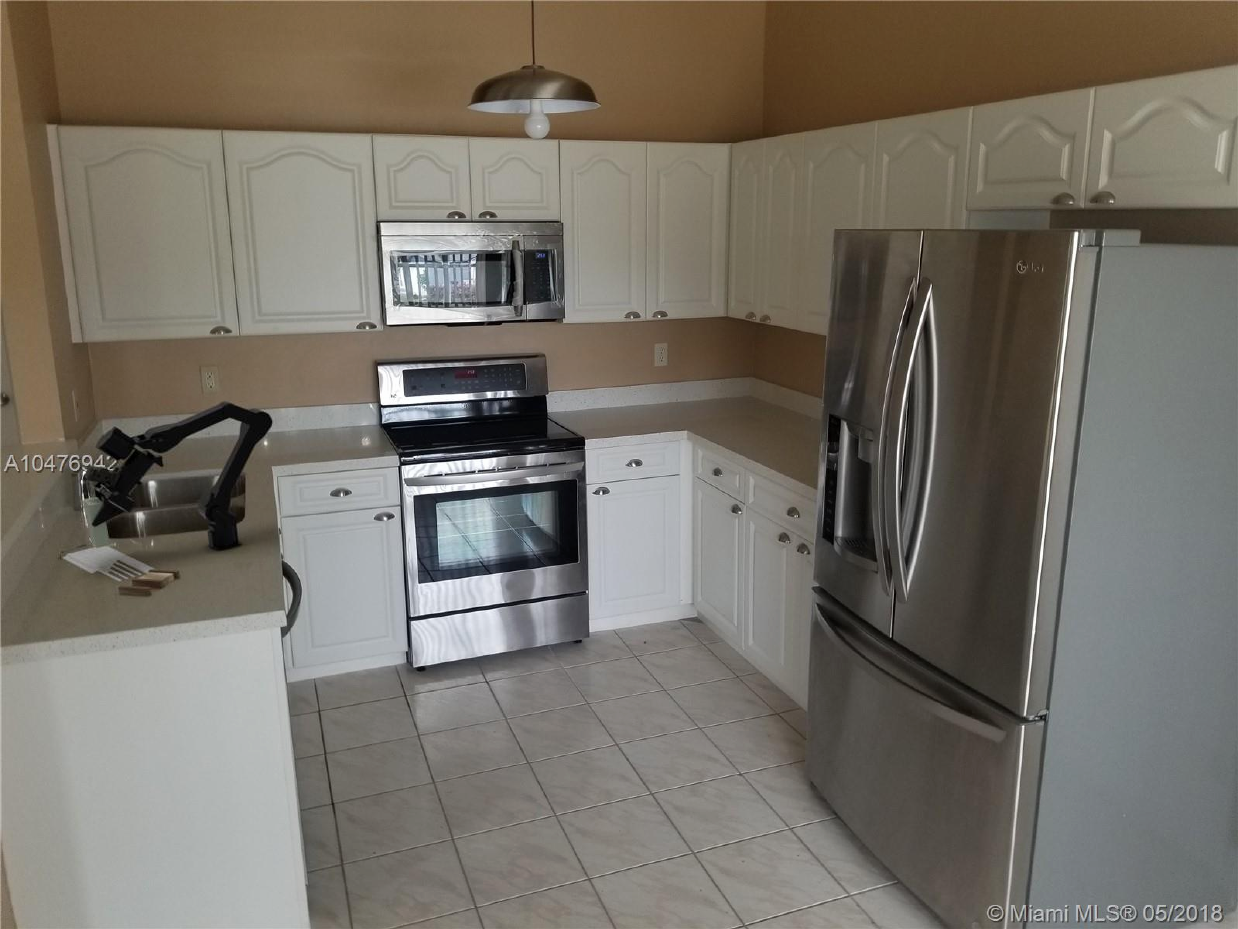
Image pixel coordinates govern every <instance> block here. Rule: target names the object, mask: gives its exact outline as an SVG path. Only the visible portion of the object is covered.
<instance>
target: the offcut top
mask: <svg viewBox="0 0 1238 929" xmlns="http://www.w3.org/2000/svg"><path fill="white" fill-rule="evenodd" d="M172 577H174V576H173V574H172V573H153V572H149V573H145V574H144V575H143V574H142V575H141V576H139V577H138V578H137V579H156V580H163V582H165V581H167V580H169V579H170V578H172Z"/></svg>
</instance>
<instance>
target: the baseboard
mask: <svg viewBox="0 0 1238 929" xmlns="http://www.w3.org/2000/svg"><path fill="white" fill-rule="evenodd" d="M88 546H91V545H88ZM85 547H87V545H86V544H82V545H79V546H78V545H77V547H76V549H80V548H85ZM73 550H75V549H72V551H73ZM69 551H71V549H70V550H68V552H69ZM64 552H65V553H66V552H67V551H66V550H65V551H61V553H62V554H63V553H64ZM57 559H58V561H59V560H64V561H66V562H68V563H70V564H72V565H74V566H76V567H77V568H80V569H81V570H83V571H85V572H87V573H89V574H94V573H97V572H99V573H101V574H104V575H106V576H108V577H110V578H112V579H113V580H114V581H117V582H122V581H123V580H122V579H121V578H123V579H126V580H129V577H127V576H125V575H123V574H122V573H124V574H126V575H129V576H130V577H132V578H135V577H136V575H134V574H132V573H135V574H137V575H138V576H143V574H141V573H140V572H138V571H136V570H139V571H141V572H142V573H145V574H147V573H149V572H148V570H150V569H155V568H154V567H152V566H149V565H148V564H146V563H144V562H142V561H139V560H137V559H135V558H133V557H131V556H129V555H127V554H124V553H122V552H121V551H118V550H116V549H114V548H112V547H111V546H104V547H100V548H96V547H95V546H93V547H90V548H87V549H82V550H79V551H74V552H71V553H66V555H65V556H62V555H61V554H59V558H57ZM118 561H120V562H122V563H124V564H126V565H128V566H131V567H133V568H134V569H132V568H130V567H127V566H126V565H124V564H122V563H120V562H118ZM114 564H116V565H118V566H120V567H122V568H125V569H126V570H128V571H130V572H132V573H130V572H128V571H125V570H124V569H121V568H120V567H118V566H116V565H114ZM111 568H114V569H116V570H118V571H120V572H122V573H119V572H117V571H115V570H114V569H111ZM135 569H136V570H135ZM110 572H111V573H114V574H116V575H118V576H120V577H121V578H119V577H117V576H115V575H113V574H111V573H110Z"/></svg>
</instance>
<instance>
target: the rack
mask: <svg viewBox="0 0 1238 929" xmlns="http://www.w3.org/2000/svg"><path fill="white" fill-rule="evenodd" d="M148 572H153V573H172V574H173V576H174V580H173V581H171V582H169V583H168V584H166V585H164V582H163V580H156V579H138V578H135V577H133V578H132V579H131V585H132V586H131V585H120V586H118V588H117V590H118V594H119V595H121V596H137V597H151V596H152V595H154V594H156V593H157V592H159V591H160V590H162V589H163V588H165V587H168V586H169V585H170V584H172V583H174V582H176V581H177V580H179V579H181V575H180V570H177V569H176V570H175V569H173V570H172V569H159V568H157V569H156V568H154V569H150V570H148Z"/></svg>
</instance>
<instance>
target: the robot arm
mask: <svg viewBox="0 0 1238 929" xmlns="http://www.w3.org/2000/svg"><path fill="white" fill-rule="evenodd" d="M228 419H231V420H234V421H236V422H241V423H240V424H239V425H240V426H239V436H238V439H237V441H236V443H235V445H234V447H233V449H232V451H231V453H230V455H229V457H228V459H227V461H226V463H225V465H224V467H223V468H222V470H221V472H220V475H218V476H219V477H218V478H217V480H216V483H215V484H214V485H213V486H212V487H211V488H210V489H207V488H205V487H204V488H203V490H202V492H201V495H200V497H199V499H197V501H196V502H197V503H198V505H197V510H198V513H199V514H200V515H201V516H202V517H203V518H204V519H206V520H207V521H208V522H209V523H210V524H208V531H207V538H208V543H207V544H208V547H210V548H212V549H215V550H217V551H223V550H226V549H229V548H234V547H236V546H242V545H243V543H242V541H239V534H238V533H239V532H238V526H237V523H238V517H237V516H236V515H234V514H233V513H232V512H231V511H229V510H230V506H231V500H232V493H233V491H234V489H235V486H236V485H237V482H238V481H239V478H240V476H241V474H242V473H243V471H244V469H245V467H246V464H247V462H248V461H249V459H250V456H251V454H252V452H253V451H254V448H255V446H256V445H257V444H258V443H260V441H261V440H262V439H264V437H265V436H266V435H267V433H268V432H269V431H270V430H271V428H272V426H273V422H274V421H273V419H272V416H271V414H270V413H268V412H266V411H264V410H261V409H259V408H254V407H253V408H250V409H248V408H244V407H242V406H239V405H236V404H234V403H233V402H230V401H221V402H219V403H218V404H217V405H214V406H212V407H209V408H208V409H205V410H203V411H200V412H198V413H196V414H194V415H191V416H189V417H186V418H183V419H182V420H180V421H176V422H174V423H166V424H161V425H157V426H154V427H150V428H148V429H146V431H145V432H144V433H141V434H137V435H133V436H130V435H128V434H126V433H125V432H123V431H122V430H121V429H120V428H118V427H117V426H113V427H112V428H111V429H109V430H108V431H107V432H106V433H104V434H102V435H101V436H100V438H99V439H98V440H97V442H96V445H95V448H96V449H97V450H99V451H100V452H102V453H103V454H104V455H107V456H108V457H109V458H112V459H113V460H115V461H118V462H119V461H120V460H121V461H124V462H122V464H121V465H120V466H115V467H114V468H113V469H109V468H107V467H103V466H95V465H91V464H90V465H89V464H88V465H87V469H86V472H85V474H84V479H86V480H87V481H89V482H92V483H91V485H92V486H93V487H92V491H93V495H94V498H95V497H97V498H98V499H99V500H100V501H101V502H102V503H103V505H102V507H101V509H100V510H99V512H98V514H97V515H96V517H95V519H94V521H93V522H92V525H93V526H94V527H96V526H98V525H100V524H102V523H104V522H106V523H107V521H110V520H111V519H114V518H115V517H118V516H119V515H121V514H125V513H126V512H128V513H131V512H132V511H133V509H134V508H135V506H136V504H135V501H134V500H133V499H132V498H131V497H132V495H131V493H132V492H133V491H134V489H135V488H136V487H137V486H141V485H142V484H143V481H142V479H144V477H145V476H146V475H147V474H148V472H149V471H150V470H151V469H152V467H153V466H154V465H155V464H156V465H157V466H159V467H160V468H163V467H164V466H165V465H164V461H163V456H162V455H161V454H164V453H167V452H169V451H170V450H172V449H173V448H176V446H178V445H179V444H181V442H182V441H183V440H185V439H186V438H188V437H189V436H191V435H194V434H197V433H199V432H201V431H203V430H205V429H208V428H209V427H212V426H215V425H216V424H219V423H221V422H224V421H226V420H228ZM135 446H136V447H139V448H141V449H142V450H143V451H142V450H139V449H138V448H136V447H135ZM149 450H151V451H152V452H154V453H158V455H156V454H154V453H152V452H151V451H149ZM85 519H86V520H87V517H86V516H85Z"/></svg>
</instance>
